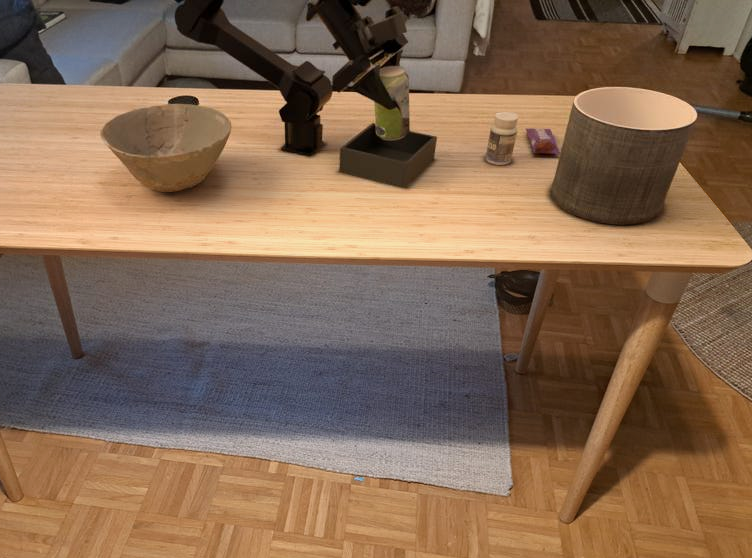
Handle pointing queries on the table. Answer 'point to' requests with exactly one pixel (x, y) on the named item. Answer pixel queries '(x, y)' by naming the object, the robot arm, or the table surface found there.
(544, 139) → the snack package
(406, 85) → the beverage can
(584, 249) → the table surface
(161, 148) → the ceramic bowl
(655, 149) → the planter
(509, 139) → the pill bottle
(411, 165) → the square storage tray
